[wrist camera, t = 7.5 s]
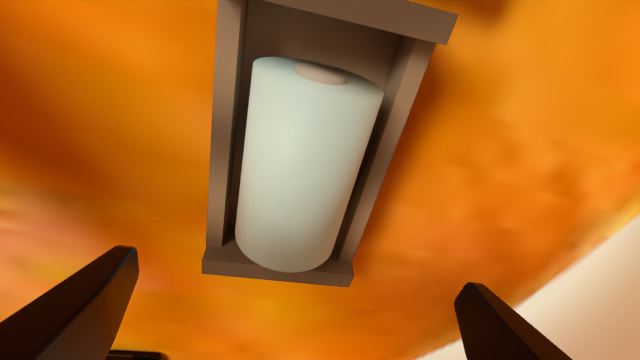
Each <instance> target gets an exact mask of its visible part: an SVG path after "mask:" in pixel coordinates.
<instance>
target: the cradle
mask: <svg viewBox="0 0 640 360" xmlns="http://www.w3.org/2000/svg"><path fill="white" fill-rule="evenodd" d="M457 18H458V14H455V13H451V12H447V11H443V10H440V9H436V8H432V7H428V6H425V5H421V4H417V3H413V2H410V1H406V0H218V5H217V26H216V47H215V68H214V88H213V109H212V130H211V151H210V171H209V192H208V213H207V234H206V246H207V247H206V250H205V253H204V256H203V259H202V274H212V275H222V276H233V277H244V278H254V279H265V280H275V281H286V282H297V283H307V284H318V285H329V286H339V287H349V286H350V284H351V281H352V279H353V276H354V273H353V268H352V263H351V262H352V260H353V258H354V255H355V253H356V250H357V247H358V245H359V242H360V240H361V237H362V234H363V232H364V229H365V227H366V224H367V221H368V219H369V216H370V214H371V211H372V209H373V206H374V203H375V201H376V198H377V196H378V193H379V190H380V188H381V185H382V183H383V180H384V177H385V175H386V172H387V170H388V167H389V164H390V162H391V159H392V157H393V154H394V151H395V149H396V146H397V144H398V141H399V138H400V136H401V133H402V131H403V128H404V125H405V123H406V120H407V118H408V115H409V112H410V110H411V107H412V105H413V102H414V99H415V97H416V94H417V92H418V89H419V86H420V84H421V81H422V79H423V76H424V73H425V71H426V68H427V66H428V63H429V60H430V58H431V55H432V53H433V50H434V47H435V45H436V43H438V44H442V45H447V43H448V40H449V38H450V35H451V33H452V30H453V28H454V25H455V23H456V20H457ZM263 57H290V58H298V59H304V60H310V61H315V62H319V63H323V64H327V65H331V66H335V67H338V68H341V69H344V70H347V71H350V72H353V73H355V74H358V75H360V76H362V77H364V78H366V79H368V80H370V81H372V82H374V83H375V84H377V85H378V86H379V87H380V88H381V89H382V90H383V92H384V96H383V99H382V102H381V105H380V108H379V111H378V114H377V117H376V120H375V123H374V126H373V129H372V132H371V135H370V138H369V141H368V144H367V147H366V150H365V153H364V156H363V159H362V162H361V165H360V168H359V171H358V174H357V177H356V180H355V183H354V186H353V189H352V193H351V196H350V199H349V202H348V205H347V208H346V211H345V214H344V217H343V220H342V223H341V226H340V229H339V232H338V235H337V238H336V241H335V244H334V247H333V250H332V253H331V255H330V256H329V258H328V259H327V260H326V261H325V262H324V263H322V264H321V265H319V266H318V267H316V268H313V269H311V270H307V271H303V272H280V271H275V270H271V269H268V268H265V267H263V266H261V265H259V264H257V263H255V262H254V261H252V260H251V259H249V258H248V257H247V256H246V255H245V254H244V253H243V252H242V251H241V249H240V248H239V246H238V244H237V242H236V238H235V226H236V217H237V208H238V199H239V189H240V180H241V171H242V161H243V152H244V143H245V134H246V124H247V115H248V106H249V96H250V87H251V78H252V69H253V62H254V61H255V60H257V59H259V58H263Z"/></svg>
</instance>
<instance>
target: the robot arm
mask: <svg viewBox="0 0 640 360" xmlns="http://www.w3.org/2000/svg"><path fill="white" fill-rule="evenodd" d="M138 275H139V264H138V255H137V249H136V248H135V247H132V246H122V245H118V246H115V247H113V248H112V249H110V250H109V251H107V252H106V253H104V254H103V255H101V256H100V257H98V258H97V259H95V260H94V261H92V262H91V263H89V264H88V265H86V266H85V267H83V268H82V269H80V270H79V271H77V272H76V273H74V274H73V275H71V276H70V277H68V278H67V279H65V280H64V281H62V282H61V283H59V284H58V285H56V286H55V287H53V288H52V289H50V290H49V291H47V292H46V293H44V294H43V295H41V296H40V297H38V298H37V299H35V300H34V301H32V302H31V303H29V304H28V305H26V306H24V307H23V308H21V309H20V310H18V311H17V312H15V313H14V314H12V315H11V316H9V317H8V318H6V319H5V320H3V321H2V322H0V360H162V357H161V355H159V354H155V353H135V352H116V351H109V350H110V348H111V346H112V344H113V342H114V340H115V337H116V335H117V332H118V330H119V327H120V324H121V322H122V319H123V316H124V314H125V311H126V308H127V306H128V303H129V300H130V298H131V295H132V292H133V290H134V287H135V285H136V282H137V279H138ZM454 308H455V312H456V316H457V321H458V325H459V329H460V333H461V337H462V341H463V345H464V350H465V354H466V357H467V360H572V359H571V358H570V357H569V356H568V355H566V354H565V353H564V352H563V351H562V350H561V349H559V348H558V347H557V346H556V345H554V344H553V343H552V342H551V341H550V340H549V339H547V338H546V337H545V336H544V335H543V334H542V333H540V332H539V331H538V330H537V329H535V328H534V327H533V326H532V325H531V324H530V323H528V322H527V321H526V320H525V319H524V318H522V317H521V316H520V315H519V314H518V313H516V312H515V311H514V310H513V309H512V308H511V307H510V306H508V305H507V304H506V303H505V302H504V301H502V300H501V299H500V298H499V297H498V296H496V295H495V294H494V293H493V292H492V291H491V290H489V289H488V288H487V287H486V286H485V285H483V284H481V283H473V282H468V283H466V284H465V286H464V287H463V289H462V290H461V291H460V293H459V294H458V296H457V297H456V299H455V302H454Z"/></svg>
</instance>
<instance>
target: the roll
mask: <svg viewBox="0 0 640 360" xmlns="http://www.w3.org/2000/svg"><path fill="white" fill-rule="evenodd" d="M383 96H384V92H383V90H382V89H381V88H380V87H379V86H378V85H377V84H375V83H374V82H372V81H370V80H368V79H366V78H364V77H362V76H360V75H358V74H355V73H353V72H350V71H347V70H344V69H341V68H338V67H335V66H331V65H327V64H323V63H319V62H315V61H310V60H304V59H298V58H290V57H263V58H259V59H257V60H255V61H254V62H253V69H252V78H251V87H250V96H249V106H248V115H247V124H246V134H245V143H244V152H243V161H242V171H241V180H240V189H239V199H238V208H237V217H236V226H235V238H236V242H237V244H238V246H239V248H240V249H241V251H242V252H243V253H244V254H245V255H246V256H247V257H248V258H249V259H251V260H252V261H254V262H255V263H257V264H259V265H261V266H263V267H265V268H268V269H271V270H275V271H280V272H303V271H307V270H311V269H313V268H316V267H318V266H319V265H321V264H322V263H324V262H325V261H326V260H327V259H328V258H329V256H330V255H331V253H332V250H333V247H334V244H335V241H336V238H337V235H338V232H339V229H340V226H341V223H342V220H343V217H344V214H345V211H346V208H347V205H348V202H349V199H350V196H351V193H352V189H353V186H354V183H355V180H356V177H357V174H358V171H359V168H360V165H361V162H362V159H363V156H364V153H365V150H366V147H367V144H368V141H369V138H370V135H371V132H372V129H373V126H374V123H375V120H376V117H377V114H378V111H379V108H380V105H381V102H382V99H383Z"/></svg>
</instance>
